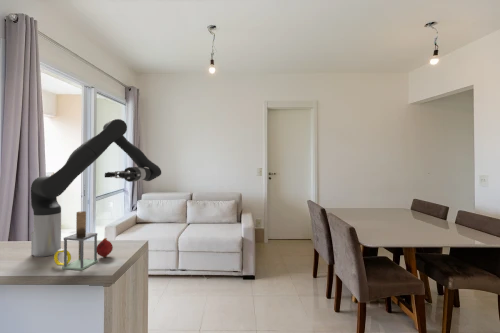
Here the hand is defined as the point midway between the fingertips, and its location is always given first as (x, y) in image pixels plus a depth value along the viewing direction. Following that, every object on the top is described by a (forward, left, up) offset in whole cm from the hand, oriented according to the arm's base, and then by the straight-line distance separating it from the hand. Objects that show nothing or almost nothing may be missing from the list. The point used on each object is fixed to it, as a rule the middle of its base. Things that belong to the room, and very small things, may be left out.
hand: (113, 175), depth 115 cm
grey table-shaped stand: (+1, -20, -33) cm, 39 cm away
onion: (+4, -12, -34) cm, 36 cm away
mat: (+1, -20, -34) cm, 39 cm away
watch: (-6, -21, -34) cm, 40 cm away
